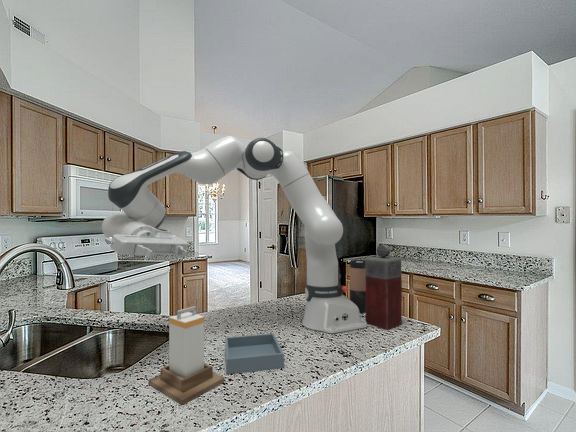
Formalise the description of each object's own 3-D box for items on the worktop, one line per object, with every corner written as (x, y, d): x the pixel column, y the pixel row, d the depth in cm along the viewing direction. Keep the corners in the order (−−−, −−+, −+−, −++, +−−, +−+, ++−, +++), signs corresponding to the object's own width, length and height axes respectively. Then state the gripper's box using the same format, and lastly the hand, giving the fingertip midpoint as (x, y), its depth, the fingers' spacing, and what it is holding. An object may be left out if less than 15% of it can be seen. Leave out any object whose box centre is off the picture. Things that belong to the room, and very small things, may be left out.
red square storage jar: (405, 323, 110) (405, 244, 110) (387, 330, 103) (387, 246, 103) (383, 316, 117) (383, 243, 117) (365, 323, 110) (365, 244, 110)
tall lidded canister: (168, 379, 70) (169, 308, 70) (188, 370, 74) (188, 303, 74) (184, 387, 66) (185, 313, 66) (204, 378, 70) (204, 308, 70)
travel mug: (372, 310, 125) (372, 261, 126) (363, 314, 120) (363, 263, 120) (355, 306, 131) (355, 259, 131) (346, 310, 125) (346, 261, 125)
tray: (273, 345, 91) (273, 333, 91) (283, 367, 77) (283, 353, 77) (225, 349, 88) (225, 337, 88) (226, 374, 74) (226, 359, 74)
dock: (148, 384, 70) (148, 368, 70) (190, 365, 78) (190, 351, 79) (182, 405, 62) (182, 387, 62) (224, 381, 71) (224, 366, 71)
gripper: (104, 225, 78) (133, 241, 71) (172, 230, 95) (202, 243, 88) (98, 249, 79) (126, 267, 71) (168, 250, 96) (196, 264, 88)
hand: (168, 254), depth 80 cm, fingers open, 8 cm apart
